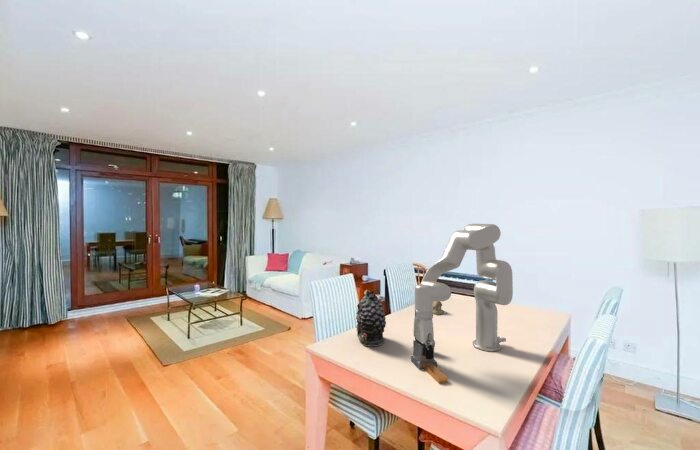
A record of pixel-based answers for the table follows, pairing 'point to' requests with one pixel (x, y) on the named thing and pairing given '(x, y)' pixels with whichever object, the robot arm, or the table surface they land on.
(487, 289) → the robot arm
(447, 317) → the table surface
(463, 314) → the table surface
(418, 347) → the hollow square tube
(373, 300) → the dark pine cone
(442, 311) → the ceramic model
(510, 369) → the table surface
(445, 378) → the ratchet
